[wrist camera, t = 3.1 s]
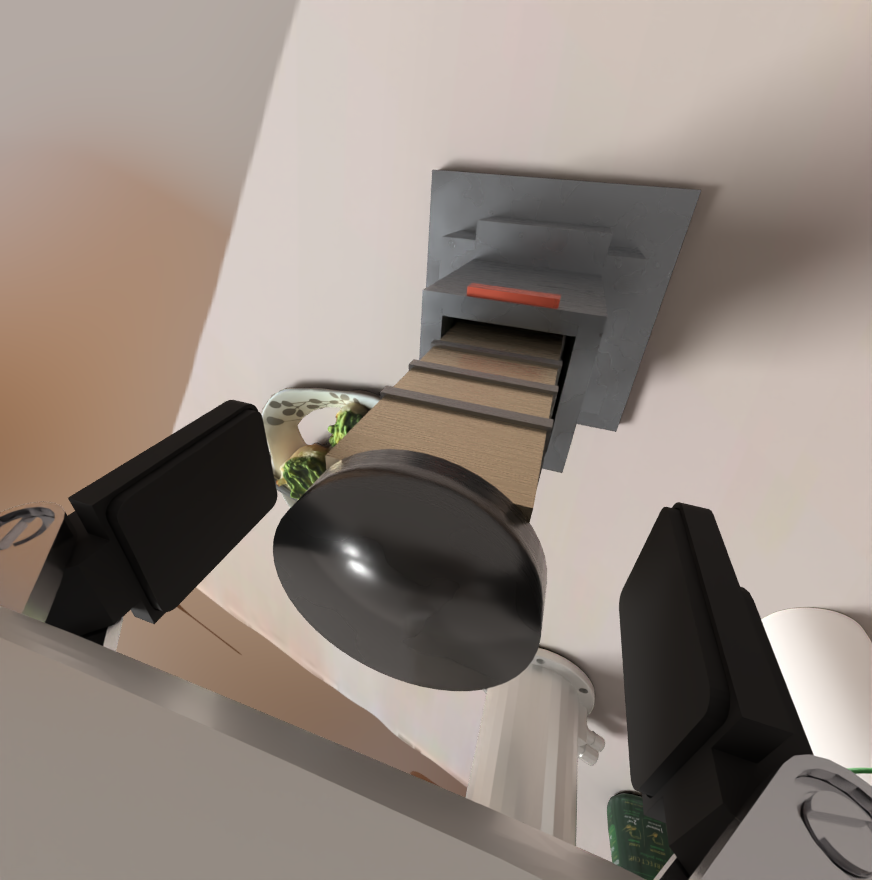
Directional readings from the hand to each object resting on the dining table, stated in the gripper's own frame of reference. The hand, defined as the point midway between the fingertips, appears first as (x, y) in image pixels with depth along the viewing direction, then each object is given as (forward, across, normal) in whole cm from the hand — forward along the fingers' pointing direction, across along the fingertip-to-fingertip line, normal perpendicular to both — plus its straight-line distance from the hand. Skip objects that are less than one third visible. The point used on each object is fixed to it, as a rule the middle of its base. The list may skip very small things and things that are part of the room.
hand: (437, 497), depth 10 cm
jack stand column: (+19, 0, +1) cm, 19 cm away
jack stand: (+20, 0, +1) cm, 21 cm away
